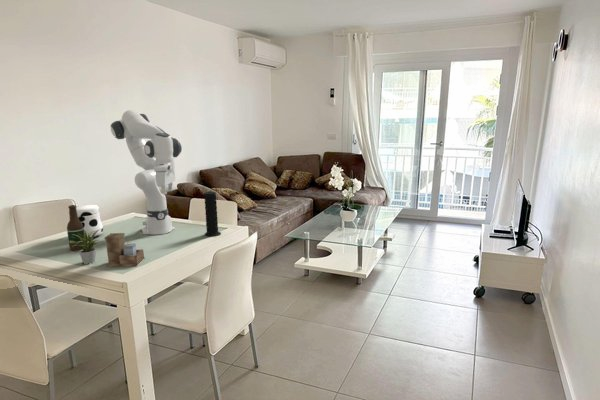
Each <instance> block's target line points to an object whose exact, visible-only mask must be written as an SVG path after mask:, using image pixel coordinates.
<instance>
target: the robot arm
mask: <svg viewBox="0 0 600 400" xmlns="http://www.w3.org/2000/svg"><path fill="white" fill-rule="evenodd" d="M110 132H111V134H112V135H113V137H114V138H115V139H117V140H124V139H125V142H126V146H127V148H128V150H129V153H130V155H131V156H132V159H133V160H134V162H135V164H136V165H137V166H138V167H140V168H142V169H144V170H142V171H140V172H138V173H136V174H135V176H134V183H135V186H136V187H137V188H139V189H140V190H141V191H142V192H143V194H144V196H145V199H146V205H147V210H146V215H147V216H146V217H145V220H144V221H142V227H141V231H142V233H143V235H155V236H156V235H164V234H167V233H170V232H171V231H174V230H175V226H173V224H172V223H173V222H172V218H171V216H170V215H169V210H168V209H169V208H167V207H168V206H167V198H166V197H167V196H166V195H167V194H168V192H172V191H173V183H174V182H175V181H176V172H175V168H176V167H175V158H177V157H179V155H180V154H181V153H182V144H181V142H180V141H179V140H178V139H177V138H174V137H172V136H171V135H170V134H168V133H167V132H165V130H163V129H162V128H161V127H159V126H157V125H155V124H153V123H151V120H150V119H149V117H148V116H147V114H145V113H139V112H137V111H135V110H131V109H129V110H126V111H124V112H123V114H122V116H121V119H119V120H115V121H113V122H112V123H111V124H110ZM146 139H147V141H146ZM167 186H168V187H167ZM160 189H161V190H160Z"/></svg>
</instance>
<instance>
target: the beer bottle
mask: <svg viewBox="0 0 600 400" xmlns="http://www.w3.org/2000/svg"><path fill="white" fill-rule="evenodd" d="M76 206H77V205H75V204H71V205H68V214H70V215H69V216H70V217H69V221H68V222H67V225H66V231H67V238H68V240H67V241H68V246H69V250H70V251H71V252H72V251H73V252H76V251H78V252H79V251H80V250H82V248H81V247H79V246H73V245H76V244H74V243H72V242H69V241H75V242H79V243H81V244H83V243H82V242H83V241H81V240H80V239H79V238H78V237H77V236H76V235H78V236H80V237H81V238H83V237H84V227H83V224H82V222H81V221H80V220H79V219H78V215H77V210H76ZM78 233H79V234H78ZM72 234H75V235H72ZM80 234H81V235H82V236H83V237H82V236H81V235H80ZM73 237H74V238H73ZM83 245H84V244H83ZM72 246H73V247H72Z"/></svg>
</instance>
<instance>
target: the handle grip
mask: <svg viewBox="0 0 600 400" xmlns="http://www.w3.org/2000/svg"><path fill="white" fill-rule="evenodd" d="M203 194H204V198H203V199H204V206H205V207H204V209H205V224H206V225H205V227H206V232H205V233H204V234H203V236H204V237H208V238H209V237H211V238H213V237H218V236H221V235H222V232H220V231H219V222H218V219H219V218H218V207H217V191H216V192H215V191H211V190H209V191H205V192H204V193H203Z"/></svg>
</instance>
